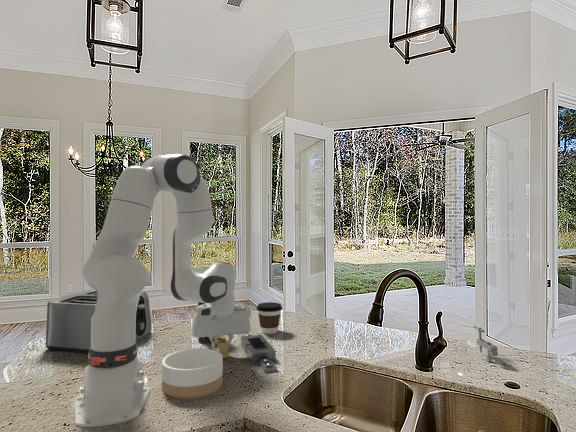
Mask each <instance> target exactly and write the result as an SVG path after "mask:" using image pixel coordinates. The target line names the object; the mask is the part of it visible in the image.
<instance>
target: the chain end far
mask: <svg viewBox="0 0 576 432" xmlns="http://www.w3.org/2000/svg"><path fill="white" fill-rule="evenodd" d="M264 343H269V342H268V340H267V339H266V338H265V337H264V336H263V335H262V334H255V335H253V334H249V333H248V334H244V335H241V336H240V346H241V348H242V349H243V351H244V353H245V354H247V345H252V346H253V348H254V349H255V350H263V349H264Z"/></svg>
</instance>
